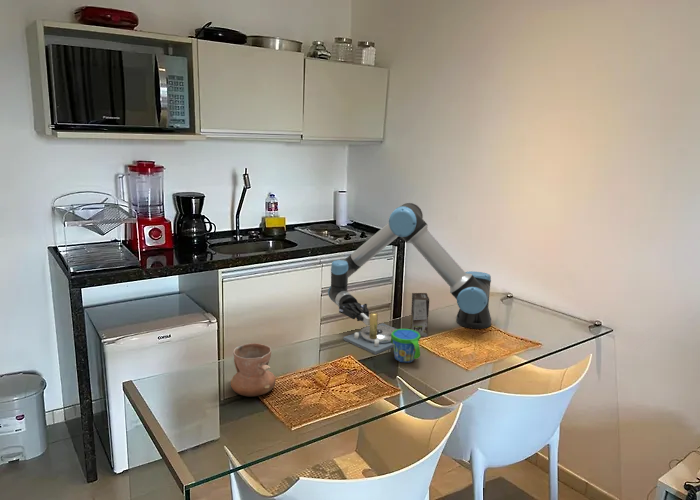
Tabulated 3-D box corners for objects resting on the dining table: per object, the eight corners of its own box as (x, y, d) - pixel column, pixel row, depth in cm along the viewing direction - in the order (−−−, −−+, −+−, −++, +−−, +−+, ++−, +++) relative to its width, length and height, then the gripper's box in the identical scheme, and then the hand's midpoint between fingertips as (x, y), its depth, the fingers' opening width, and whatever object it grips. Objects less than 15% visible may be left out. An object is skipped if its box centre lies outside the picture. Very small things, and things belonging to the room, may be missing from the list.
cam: (387, 326, 225) (388, 301, 223) (404, 340, 212) (405, 313, 209) (354, 331, 220) (355, 305, 217) (370, 345, 206) (371, 318, 204)
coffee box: (427, 336, 220) (429, 299, 216) (412, 336, 220) (413, 299, 216) (425, 328, 228) (427, 292, 224) (410, 327, 229) (411, 292, 225)
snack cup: (427, 365, 194) (429, 339, 192) (402, 370, 190) (403, 344, 187) (406, 348, 208) (407, 324, 205) (382, 352, 204) (383, 328, 201)
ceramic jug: (286, 392, 174) (286, 351, 170) (249, 407, 164) (247, 364, 161) (255, 373, 186) (254, 335, 183) (219, 387, 176) (217, 347, 173)
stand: (414, 338, 218) (414, 329, 217) (375, 354, 202) (375, 345, 201) (382, 325, 230) (382, 317, 229) (343, 339, 215) (343, 331, 214)
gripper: (360, 308, 234) (382, 328, 212) (332, 312, 229) (352, 332, 208) (360, 292, 232) (383, 311, 210) (332, 295, 227) (353, 314, 206)
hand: (368, 322), depth 209 cm, fingers closed
